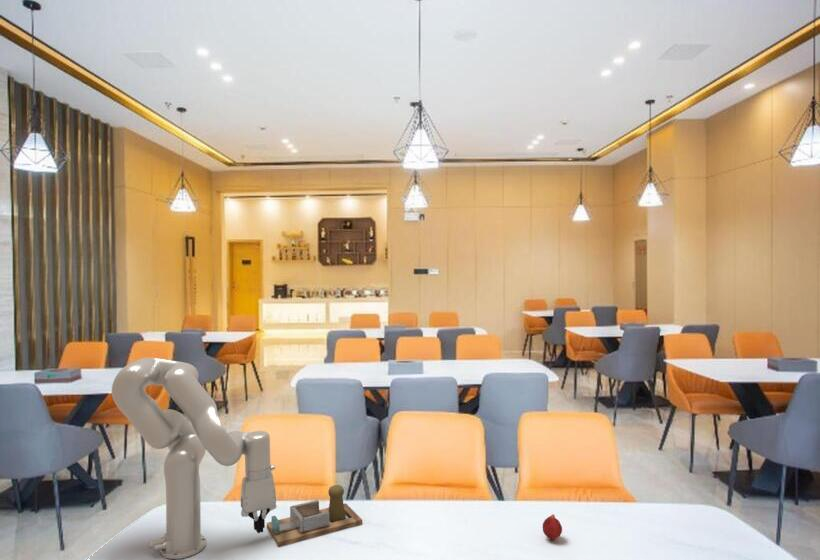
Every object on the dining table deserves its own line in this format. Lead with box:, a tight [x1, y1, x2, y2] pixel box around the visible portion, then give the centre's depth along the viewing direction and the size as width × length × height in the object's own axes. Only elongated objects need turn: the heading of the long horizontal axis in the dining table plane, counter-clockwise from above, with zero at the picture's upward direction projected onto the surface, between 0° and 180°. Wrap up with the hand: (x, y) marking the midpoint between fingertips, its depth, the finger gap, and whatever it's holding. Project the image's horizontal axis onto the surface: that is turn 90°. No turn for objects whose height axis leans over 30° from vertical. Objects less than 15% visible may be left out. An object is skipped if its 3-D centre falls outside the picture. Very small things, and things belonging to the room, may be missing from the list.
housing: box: [271, 499, 329, 534], centre depth 164 cm, size 17×11×4 cm, turn 120°
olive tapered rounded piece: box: [327, 484, 347, 523], centre depth 171 cm, size 6×6×11 cm
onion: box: [542, 513, 563, 541], centre depth 158 cm, size 6×6×8 cm
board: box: [266, 503, 363, 548], centre depth 167 cm, size 28×14×2 cm, turn 120°
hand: (259, 530), depth 158 cm, fingers closed
